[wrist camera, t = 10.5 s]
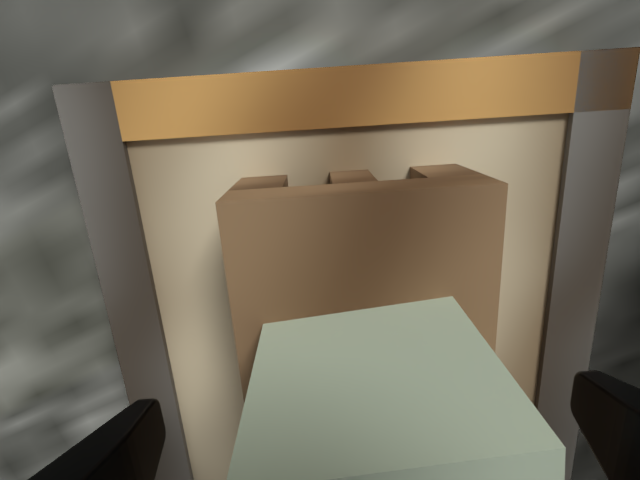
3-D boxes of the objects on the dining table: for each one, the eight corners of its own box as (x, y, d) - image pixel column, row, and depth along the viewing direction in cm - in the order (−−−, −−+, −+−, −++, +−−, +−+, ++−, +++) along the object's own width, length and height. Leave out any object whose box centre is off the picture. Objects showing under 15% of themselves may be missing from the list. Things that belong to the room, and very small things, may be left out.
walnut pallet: (455, 163, 11) (508, 183, 8) (445, 440, 13) (481, 530, 11) (241, 177, 11) (215, 202, 8) (274, 451, 13) (264, 544, 11)
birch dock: (582, 58, 12) (640, 46, 10) (534, 446, 16) (567, 496, 14) (97, 89, 12) (51, 84, 10) (178, 467, 16) (158, 521, 14)
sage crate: (452, 295, 8) (565, 448, 5) (462, 448, 10) (558, 666, 6) (263, 323, 9) (222, 493, 5) (295, 470, 10) (284, 699, 6)
